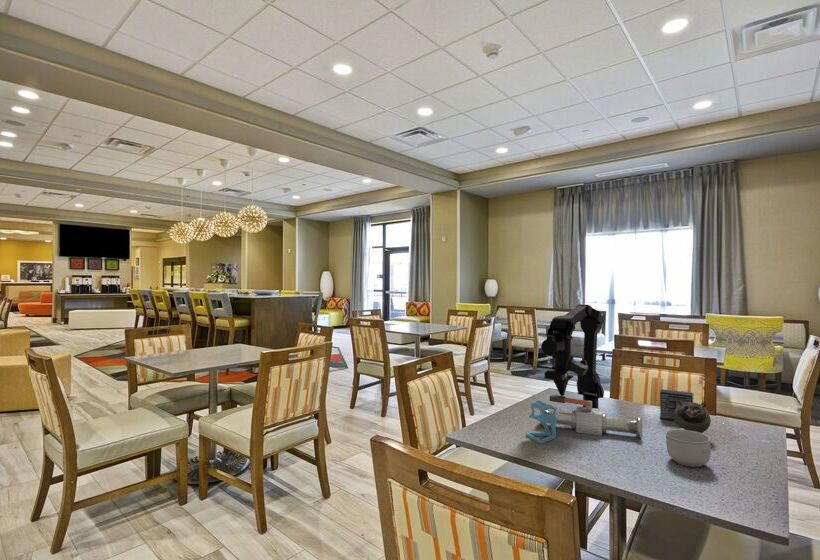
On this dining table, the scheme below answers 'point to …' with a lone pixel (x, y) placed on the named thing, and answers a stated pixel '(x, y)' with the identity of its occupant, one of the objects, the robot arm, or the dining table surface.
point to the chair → (543, 421)
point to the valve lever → (571, 401)
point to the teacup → (688, 447)
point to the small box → (672, 402)
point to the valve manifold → (596, 422)
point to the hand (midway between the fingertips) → (562, 395)
